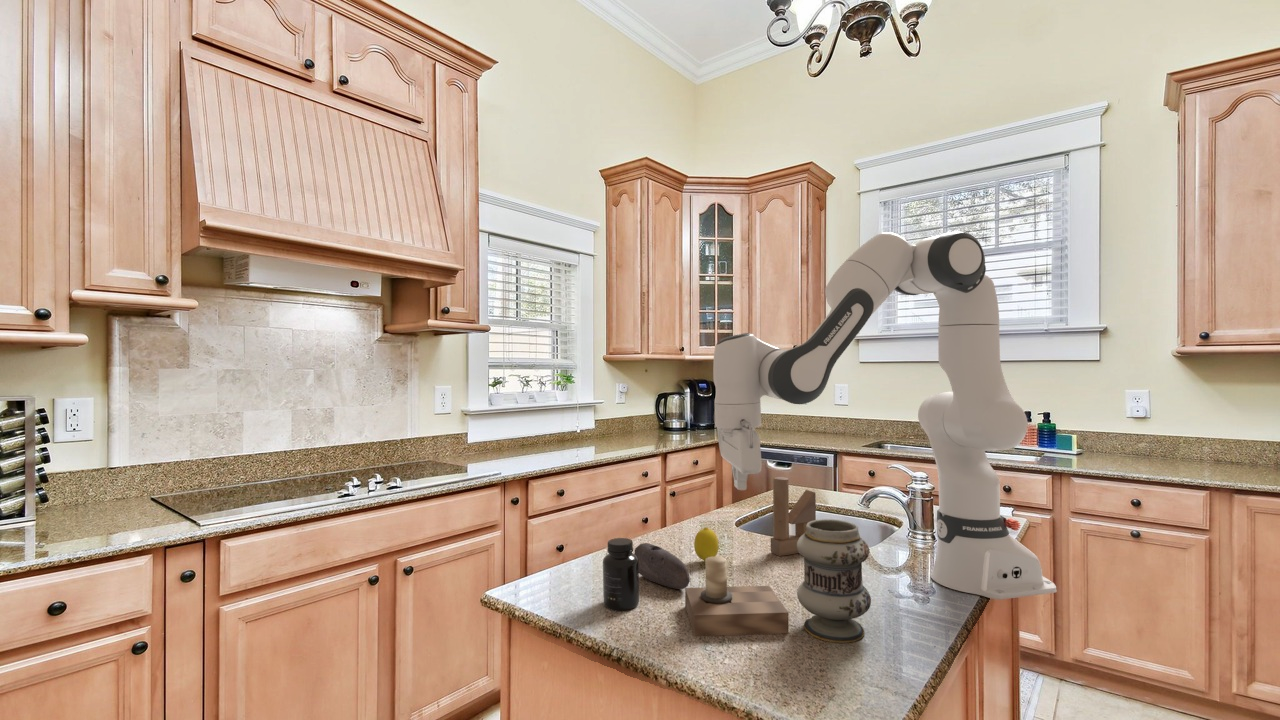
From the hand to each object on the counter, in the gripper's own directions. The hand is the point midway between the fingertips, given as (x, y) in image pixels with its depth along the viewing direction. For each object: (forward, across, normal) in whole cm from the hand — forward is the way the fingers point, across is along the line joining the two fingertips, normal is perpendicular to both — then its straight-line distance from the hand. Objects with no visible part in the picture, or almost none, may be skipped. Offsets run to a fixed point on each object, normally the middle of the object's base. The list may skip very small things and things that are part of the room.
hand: (740, 488), depth 116 cm
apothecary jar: (+22, -15, -12) cm, 29 cm away
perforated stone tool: (+21, +9, +15) cm, 27 cm away
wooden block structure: (+22, +26, -18) cm, 39 cm away
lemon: (+21, +21, +4) cm, 30 cm away
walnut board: (+21, -9, +4) cm, 23 cm away
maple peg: (+21, -8, +7) cm, 23 cm away
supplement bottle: (+21, -1, +24) cm, 32 cm away
